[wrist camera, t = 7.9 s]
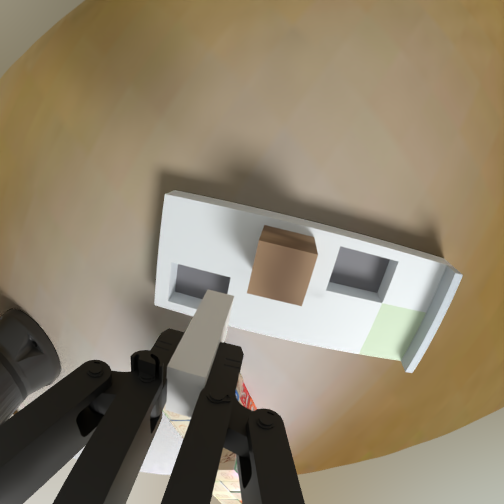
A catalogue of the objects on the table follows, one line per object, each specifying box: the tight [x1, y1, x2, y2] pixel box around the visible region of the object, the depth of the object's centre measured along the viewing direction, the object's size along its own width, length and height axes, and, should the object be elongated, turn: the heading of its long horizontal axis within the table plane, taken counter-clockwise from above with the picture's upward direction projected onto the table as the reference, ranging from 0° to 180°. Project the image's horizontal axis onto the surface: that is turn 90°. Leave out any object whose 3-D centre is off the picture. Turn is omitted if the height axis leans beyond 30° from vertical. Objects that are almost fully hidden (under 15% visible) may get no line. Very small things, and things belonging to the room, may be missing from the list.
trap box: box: [154, 190, 463, 373], centre depth 29 cm, size 29×12×4 cm, turn 78°
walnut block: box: [247, 225, 318, 306], centre depth 25 cm, size 4×4×4 cm
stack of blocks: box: [162, 373, 257, 504], centre depth 33 cm, size 21×6×12 cm, turn 18°
